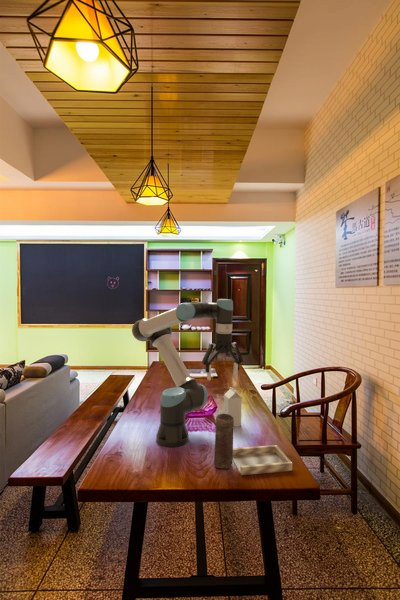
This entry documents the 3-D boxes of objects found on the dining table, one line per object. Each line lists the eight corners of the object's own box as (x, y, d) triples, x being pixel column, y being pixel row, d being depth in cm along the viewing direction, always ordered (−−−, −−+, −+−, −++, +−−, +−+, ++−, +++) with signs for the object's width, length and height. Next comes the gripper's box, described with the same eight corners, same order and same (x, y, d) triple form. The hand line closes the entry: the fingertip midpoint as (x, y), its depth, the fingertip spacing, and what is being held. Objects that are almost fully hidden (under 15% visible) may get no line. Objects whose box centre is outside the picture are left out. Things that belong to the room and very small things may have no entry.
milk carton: (228, 427, 167) (228, 391, 167) (223, 422, 174) (224, 387, 173) (241, 426, 169) (241, 390, 169) (236, 420, 176) (236, 386, 175)
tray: (241, 475, 124) (241, 467, 124) (230, 455, 139) (230, 448, 139) (292, 470, 128) (292, 463, 128) (276, 451, 143) (276, 444, 143)
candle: (231, 461, 134) (232, 413, 134) (234, 470, 127) (235, 420, 126) (213, 461, 134) (214, 413, 133) (214, 471, 127) (215, 420, 126)
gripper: (201, 334, 141) (200, 382, 142) (251, 333, 150) (249, 378, 151) (195, 332, 148) (194, 378, 149) (243, 330, 157) (242, 374, 158)
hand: (222, 378), depth 150 cm, fingers open, 13 cm apart
